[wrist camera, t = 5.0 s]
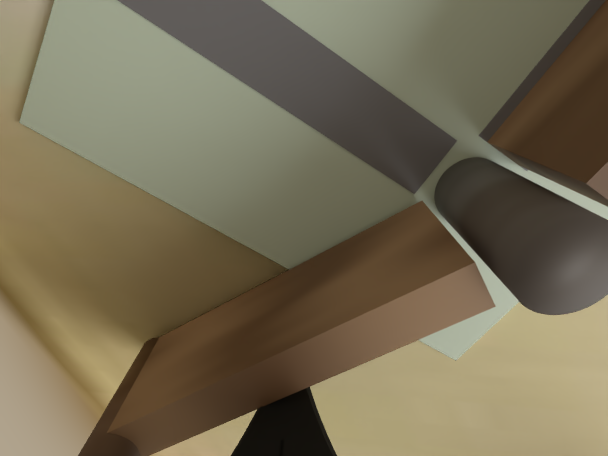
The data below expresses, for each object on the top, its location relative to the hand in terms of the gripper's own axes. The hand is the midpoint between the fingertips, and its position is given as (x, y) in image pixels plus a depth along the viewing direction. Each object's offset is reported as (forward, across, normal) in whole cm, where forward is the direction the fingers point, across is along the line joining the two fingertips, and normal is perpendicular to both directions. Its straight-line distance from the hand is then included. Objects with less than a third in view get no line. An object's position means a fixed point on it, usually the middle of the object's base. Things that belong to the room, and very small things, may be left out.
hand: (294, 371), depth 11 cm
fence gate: (+1, 0, -2) cm, 3 cm away
